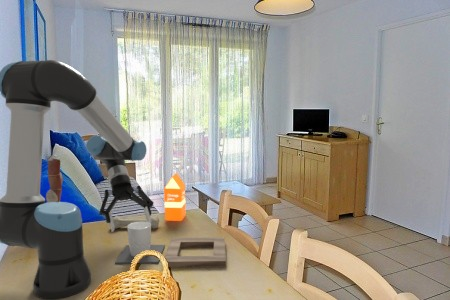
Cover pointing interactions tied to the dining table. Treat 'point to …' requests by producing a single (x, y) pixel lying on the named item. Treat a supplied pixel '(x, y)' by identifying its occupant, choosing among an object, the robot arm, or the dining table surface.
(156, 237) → the dining table surface
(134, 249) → the white cup
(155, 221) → the dog toy
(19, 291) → the dining table surface
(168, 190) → the orange juice
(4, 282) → the dining table surface
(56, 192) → the vase
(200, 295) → the dining table surface
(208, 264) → the puzzle board
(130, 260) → the rubber mat
